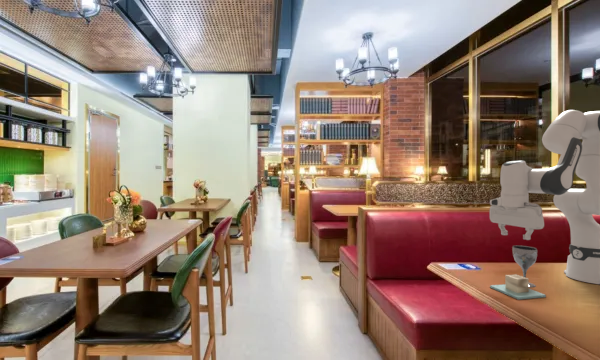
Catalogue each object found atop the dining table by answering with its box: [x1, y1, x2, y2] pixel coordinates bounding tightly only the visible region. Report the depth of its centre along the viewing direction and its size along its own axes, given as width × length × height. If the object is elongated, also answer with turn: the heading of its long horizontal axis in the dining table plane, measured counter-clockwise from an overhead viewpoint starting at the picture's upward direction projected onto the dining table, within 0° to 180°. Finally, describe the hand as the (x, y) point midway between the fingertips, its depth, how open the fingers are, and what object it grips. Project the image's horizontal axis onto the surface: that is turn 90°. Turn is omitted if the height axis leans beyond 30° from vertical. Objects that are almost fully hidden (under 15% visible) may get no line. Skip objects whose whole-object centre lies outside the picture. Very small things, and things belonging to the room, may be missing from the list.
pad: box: [489, 284, 547, 301], centre depth 110 cm, size 12×12×1 cm
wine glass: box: [512, 245, 538, 288], centre depth 118 cm, size 8×8×15 cm
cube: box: [504, 273, 530, 293], centre depth 110 cm, size 5×5×5 cm
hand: (515, 237), depth 113 cm, fingers open, 8 cm apart
